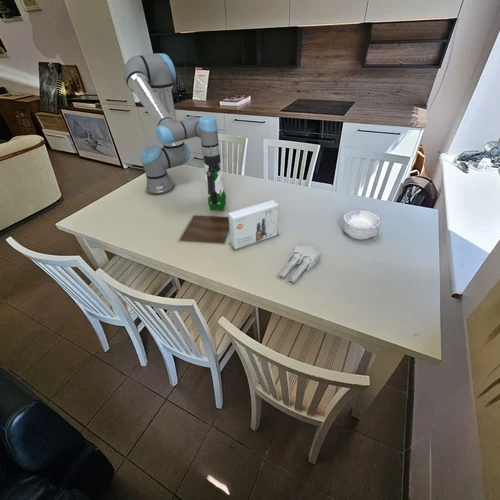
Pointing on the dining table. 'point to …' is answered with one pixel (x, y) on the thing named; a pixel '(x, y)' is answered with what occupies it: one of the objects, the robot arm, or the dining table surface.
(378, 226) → the paper bowls
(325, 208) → the dining table surface
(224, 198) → the soya milk
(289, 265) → the turret
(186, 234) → the walnut board
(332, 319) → the dining table surface
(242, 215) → the skincare box
